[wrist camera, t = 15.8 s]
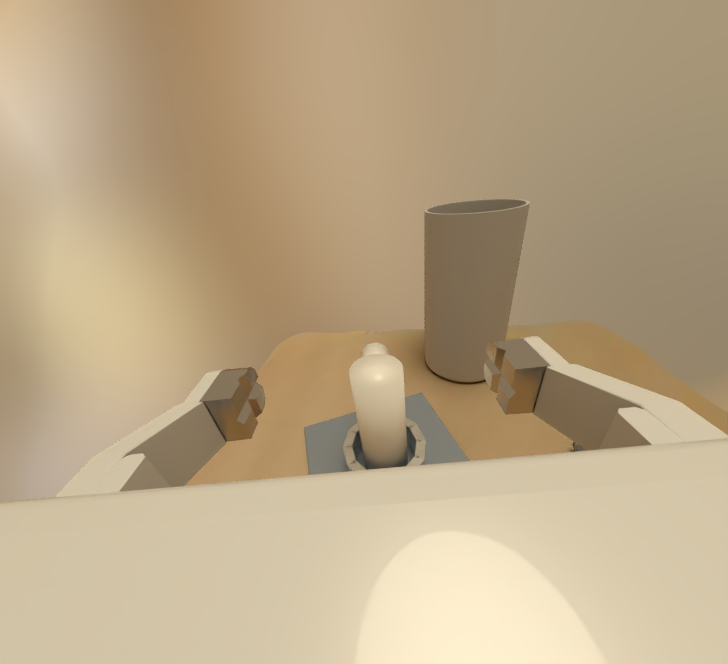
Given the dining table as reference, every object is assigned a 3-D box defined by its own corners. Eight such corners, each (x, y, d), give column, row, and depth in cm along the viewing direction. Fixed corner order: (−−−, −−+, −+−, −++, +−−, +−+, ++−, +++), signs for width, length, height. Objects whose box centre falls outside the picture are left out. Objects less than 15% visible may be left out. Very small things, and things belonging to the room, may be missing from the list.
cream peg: (411, 482, 29) (407, 384, 22) (366, 485, 30) (347, 390, 23) (401, 421, 37) (395, 333, 30) (364, 424, 37) (350, 338, 30)
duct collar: (439, 485, 29) (441, 465, 27) (359, 515, 27) (354, 496, 25) (406, 423, 36) (405, 404, 35) (341, 443, 35) (337, 424, 33)
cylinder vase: (514, 381, 41) (553, 204, 29) (433, 388, 42) (437, 218, 30) (483, 338, 52) (501, 196, 40) (418, 345, 53) (417, 207, 40)
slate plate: (505, 517, 26) (506, 514, 26) (322, 592, 23) (321, 590, 22) (421, 395, 41) (421, 392, 41) (305, 429, 38) (304, 427, 38)
